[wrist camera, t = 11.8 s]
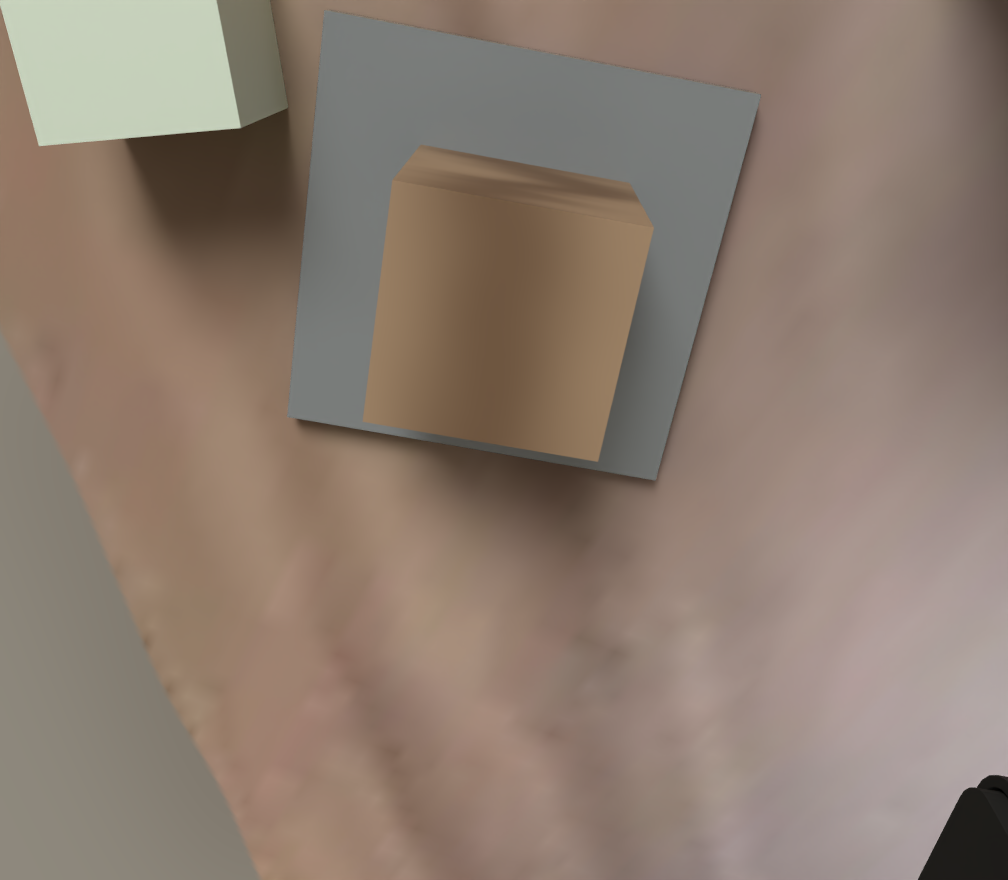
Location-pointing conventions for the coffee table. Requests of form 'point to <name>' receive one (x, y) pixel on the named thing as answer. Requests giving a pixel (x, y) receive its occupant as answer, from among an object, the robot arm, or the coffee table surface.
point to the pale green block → (144, 66)
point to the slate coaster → (519, 138)
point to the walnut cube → (504, 302)
